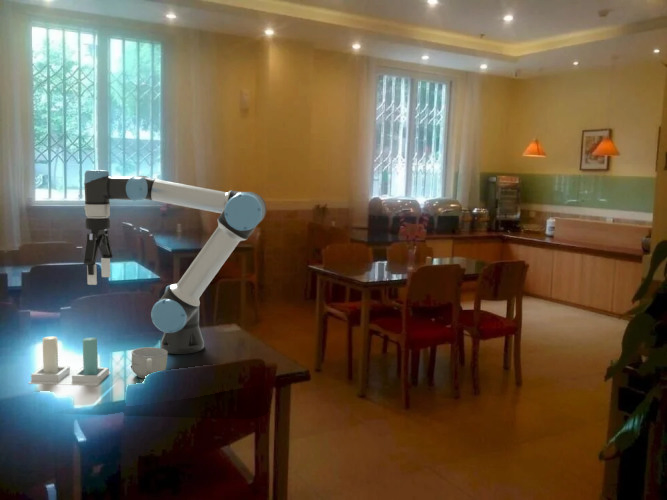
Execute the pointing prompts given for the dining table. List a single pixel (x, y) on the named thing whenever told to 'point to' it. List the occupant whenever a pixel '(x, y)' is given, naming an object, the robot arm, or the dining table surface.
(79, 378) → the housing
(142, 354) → the teacup
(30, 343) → the dining table surface
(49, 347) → the peg seated
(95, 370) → the teal peg
